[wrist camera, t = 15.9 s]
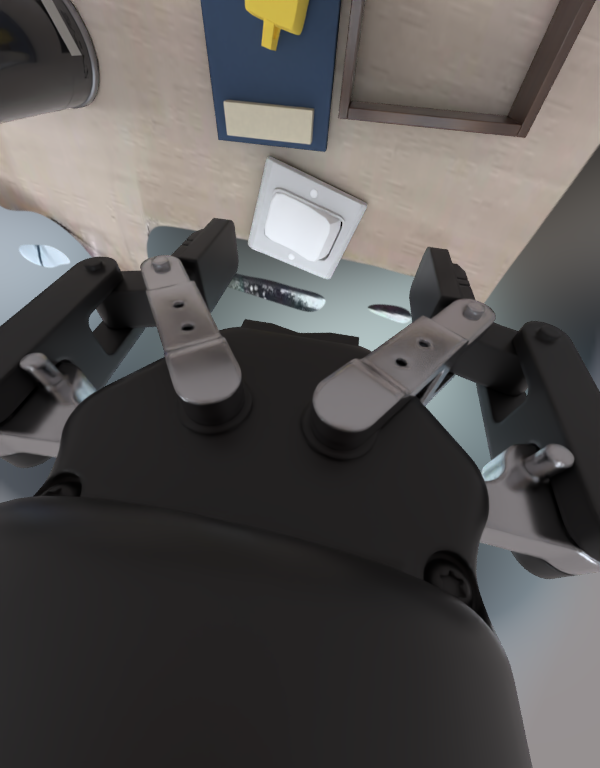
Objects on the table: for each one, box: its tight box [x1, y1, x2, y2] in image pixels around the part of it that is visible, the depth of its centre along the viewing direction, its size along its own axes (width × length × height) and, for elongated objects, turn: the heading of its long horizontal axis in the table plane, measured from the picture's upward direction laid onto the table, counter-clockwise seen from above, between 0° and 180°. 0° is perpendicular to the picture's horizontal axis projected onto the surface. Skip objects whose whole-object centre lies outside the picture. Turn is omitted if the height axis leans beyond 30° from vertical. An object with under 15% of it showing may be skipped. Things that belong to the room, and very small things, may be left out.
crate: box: [338, 0, 596, 138], centre depth 22 cm, size 17×14×4 cm
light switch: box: [248, 156, 367, 279], centre depth 37 cm, size 11×4×13 cm
